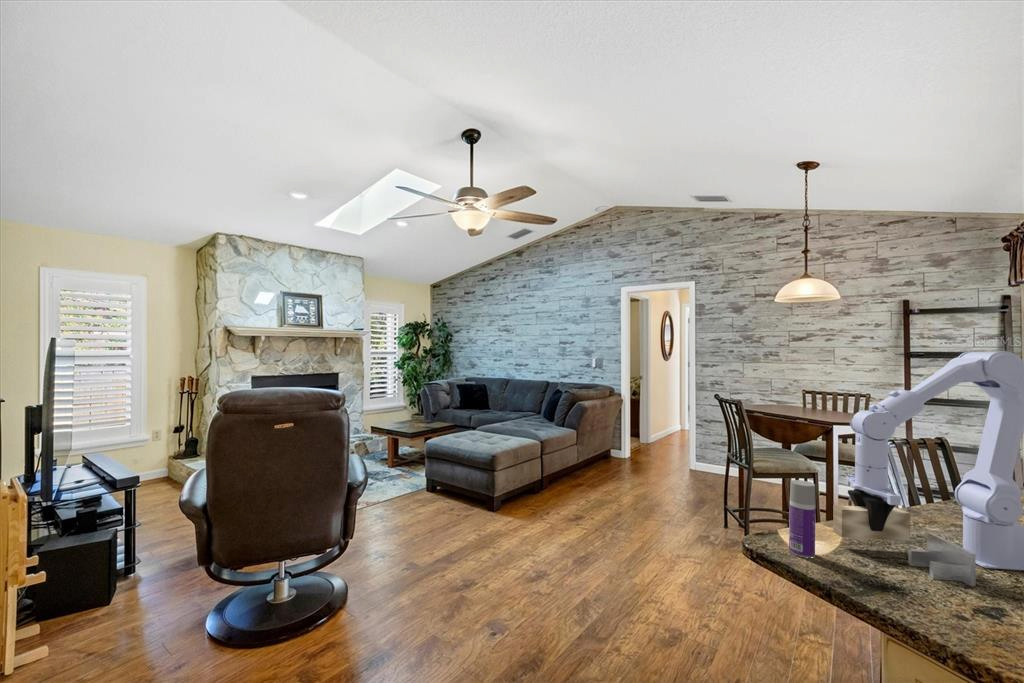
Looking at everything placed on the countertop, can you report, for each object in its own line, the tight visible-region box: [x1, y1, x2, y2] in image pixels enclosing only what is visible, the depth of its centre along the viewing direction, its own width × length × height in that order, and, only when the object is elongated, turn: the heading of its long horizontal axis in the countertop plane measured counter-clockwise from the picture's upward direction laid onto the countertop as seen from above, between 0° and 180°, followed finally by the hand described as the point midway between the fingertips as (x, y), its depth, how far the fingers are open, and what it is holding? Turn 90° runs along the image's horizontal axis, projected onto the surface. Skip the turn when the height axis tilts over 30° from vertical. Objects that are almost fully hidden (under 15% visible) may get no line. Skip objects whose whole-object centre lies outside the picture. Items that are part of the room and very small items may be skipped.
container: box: [788, 479, 817, 559], centre depth 97 cm, size 5×5×15 cm
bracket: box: [907, 532, 977, 587], centre depth 90 cm, size 6×10×6 cm, turn 175°
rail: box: [832, 504, 911, 542], centre depth 100 cm, size 14×3×6 cm, turn 85°
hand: (870, 527), depth 100 cm, fingers closed on rail, 3 cm apart
